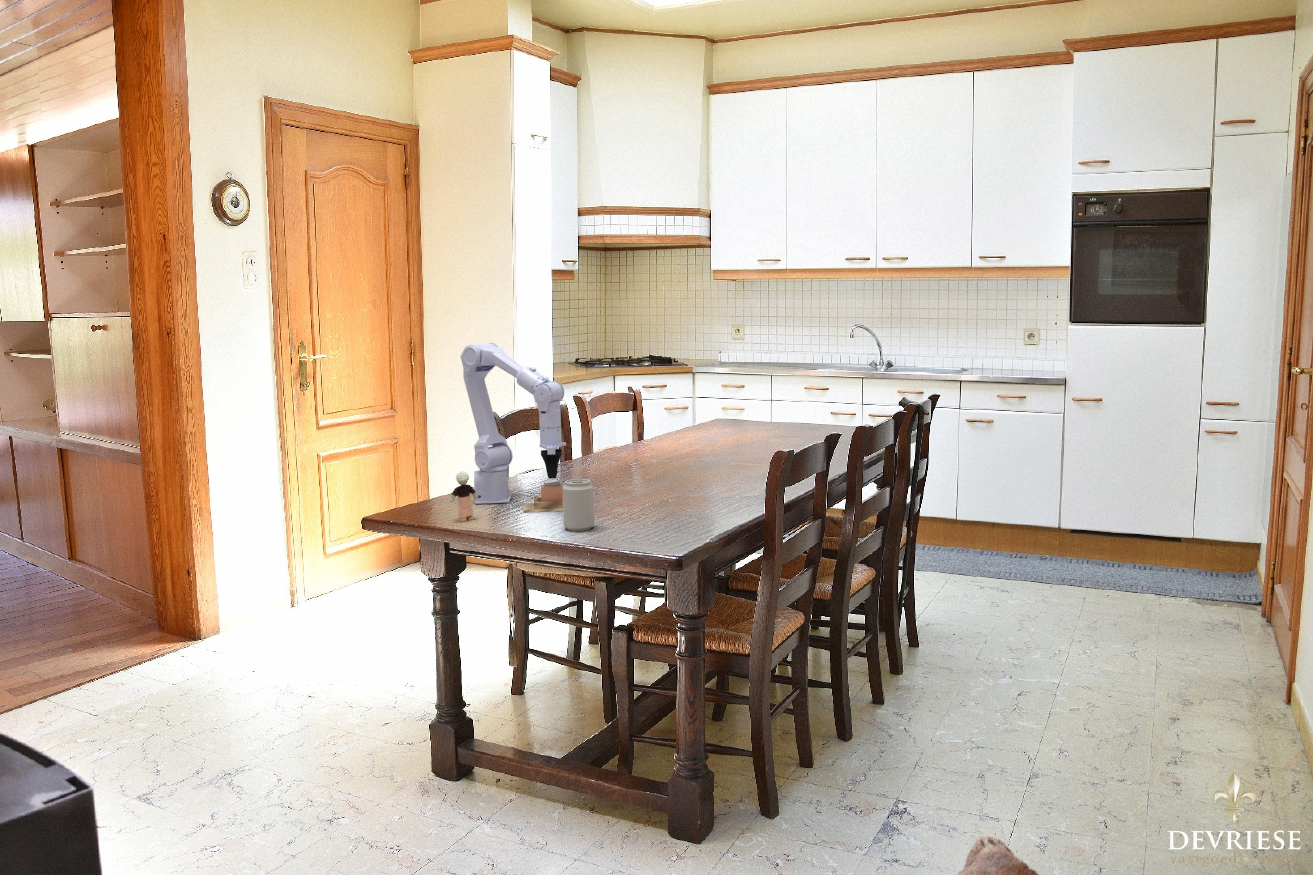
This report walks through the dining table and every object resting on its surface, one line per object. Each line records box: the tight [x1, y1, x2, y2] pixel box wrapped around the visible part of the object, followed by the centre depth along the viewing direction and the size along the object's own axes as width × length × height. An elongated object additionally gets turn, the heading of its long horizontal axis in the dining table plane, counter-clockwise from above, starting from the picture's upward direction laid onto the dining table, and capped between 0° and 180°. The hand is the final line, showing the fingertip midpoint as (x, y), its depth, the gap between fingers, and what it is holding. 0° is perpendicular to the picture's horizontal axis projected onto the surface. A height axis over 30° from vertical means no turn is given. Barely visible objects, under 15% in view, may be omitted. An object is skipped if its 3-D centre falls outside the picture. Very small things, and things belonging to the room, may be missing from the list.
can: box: [562, 478, 595, 532], centre depth 251 cm, size 8×8×12 cm
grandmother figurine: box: [449, 471, 478, 522], centre depth 263 cm, size 8×4×13 cm, turn 141°
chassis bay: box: [522, 496, 563, 514], centre depth 276 cm, size 16×9×2 cm, turn 96°
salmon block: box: [540, 481, 564, 502], centre depth 276 cm, size 6×4×6 cm, turn 96°
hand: (552, 477), depth 275 cm, fingers open, 3 cm apart
